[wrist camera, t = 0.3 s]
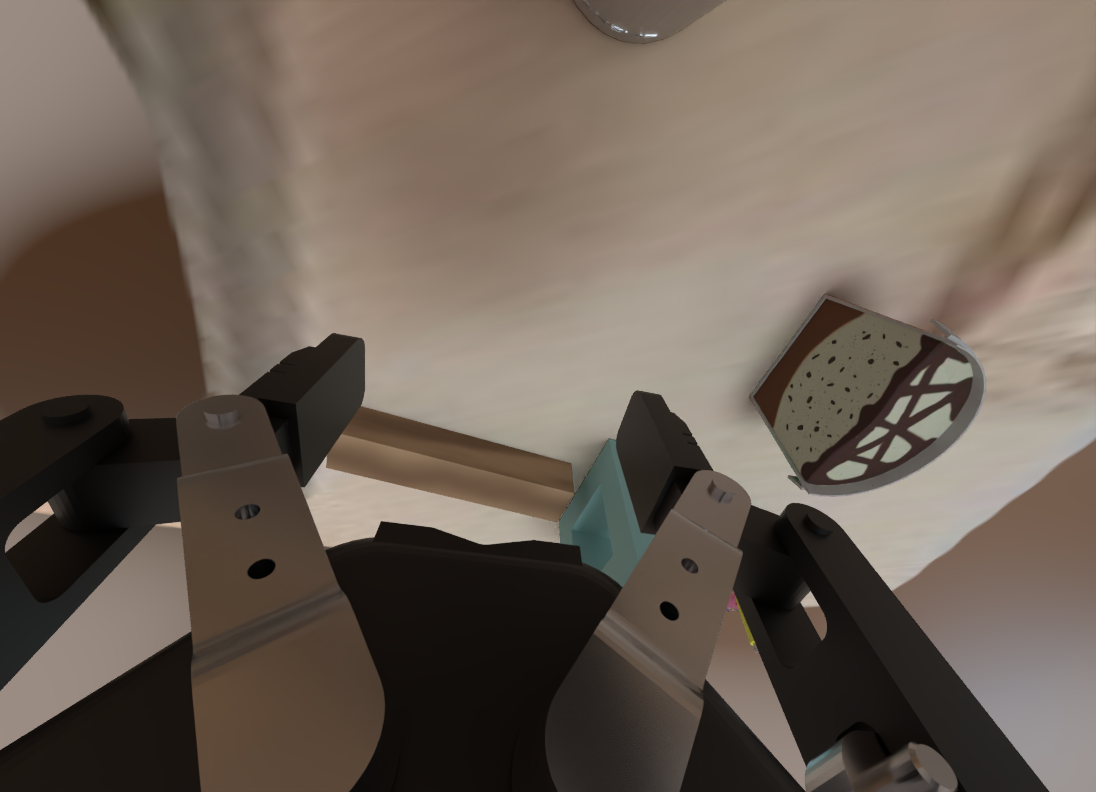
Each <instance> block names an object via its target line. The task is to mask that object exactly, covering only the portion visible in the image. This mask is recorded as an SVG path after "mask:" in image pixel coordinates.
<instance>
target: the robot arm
mask: <svg viewBox="0 0 1096 792" xmlns="http://www.w3.org/2000/svg"><path fill="white" fill-rule="evenodd" d="M574 1H575V3H576V5H577V7H578V8H579V9H580V10H581V12H582V13H583V14H584V15H585V16H586V17H587V19H588V20H589V21H590V22H591V23H592V24H593V25H594V26H596V27H597V28H598V29H600V30H601V31H603V32H604V33H605V34H607V35H608V36H611V37H613V38H616V39H619V40H622V41H624V42H632V43H649V42H653V41H658V40H663V39H665V38H667V37H669V36H671V35H673V34H675V33H677V32H680V31H682V30H683V29H684V28H686V27H687V26H689V25H690V24H692V23H693V22H695V21H696V20H698V19H699V18H700V17H702V16H703V15H705V14H707V13H708V12H710V11H711V10H713V9H714V8H716V7H717V6H719V5H720V4H721V3H723V2H724V1H726V0H574ZM364 392H365V344H364V341H363V339H362V338H357V337H352V336H346V335H341V334H336V333H332V334H331V335H330V336H328V337H327V338H326V339H325V340H324V341H323V342H321V343H320V344H319V345H318V346H317V347H310V346H309V347H306V348H303V349H301V350H298V351H295V352H292V353H291V354H289V355H288V356H287V357H286V358H284V359H283V360H282V361H281V362H280V364H277V365H276V366H274V367H273V368H272V369H271V370H270V372H267V373H266V374H264V375H263V376H262V377H261V378H259V379H258V380H257V381H256V382H254V383H253V384H252V385H251V386H249V387H248V388H247V389H246V390H244V391H243V392H242V393H241V394H239V395H219V396H213V397H208V398H204V399H201V400H198V401H195V402H193V403H191V404H189V405H187V406H186V407H185V408H183V409H182V410H181V411H180V412H179V413H178V415H177V417H176V418H155V419H128V417H127V414H126V411H125V409H124V406H123V404H122V403H121V402H120V401H119V400H117V399H115V398H111V397H108V396H102V395H74V396H65V397H60V398H54V399H50V400H46V401H43V402H39V403H36V404H33V405H31V406H28V407H26V408H24V409H22V410H19V411H18V412H16V413H14V414H12V415H10V416H8V417H6V418H4V419H2V420H1V421H0V691H1V689H3V687H4V686H5V685H6V684H7V683H8V682H9V681H10V680H11V679H12V678H13V677H14V676H15V675H16V674H17V673H18V671H19V670H20V669H21V668H22V667H23V666H24V665H25V664H26V663H27V662H28V661H29V660H30V659H31V657H33V655H34V654H35V653H36V652H37V651H38V650H39V649H40V648H41V647H42V646H43V645H44V644H45V643H46V641H47V640H48V639H49V638H50V637H51V636H52V635H53V634H54V633H55V632H56V631H57V630H58V629H59V628H60V627H61V625H62V624H63V623H64V622H65V621H66V620H67V619H68V618H69V617H70V616H71V615H72V614H73V613H74V612H75V610H76V609H77V608H78V607H79V606H80V605H81V604H82V603H83V602H84V601H85V600H86V599H87V598H88V596H89V595H90V594H91V593H92V592H93V591H94V590H95V589H96V588H97V587H98V586H99V585H100V584H101V583H102V582H103V581H104V579H105V578H106V577H107V576H108V575H109V574H110V573H111V572H112V571H113V570H114V569H115V568H116V567H117V566H118V564H119V563H120V562H121V561H122V560H123V559H124V558H125V557H126V556H127V555H128V553H130V551H132V549H133V548H134V547H135V546H136V545H137V544H138V543H139V542H140V541H141V540H142V539H143V537H145V536H146V535H147V533H148V532H149V531H150V530H151V529H152V528H153V527H154V526H155V525H156V524H163V523H172V522H181V529H182V539H183V549H184V560H185V570H186V580H187V591H188V601H189V611H190V621H191V632H189V633H188V634H186V635H185V636H183V637H181V638H180V639H178V640H177V641H175V642H173V643H172V644H170V645H168V646H167V647H165V648H164V649H162V650H161V651H159V652H157V653H156V654H154V655H153V656H151V657H149V658H148V659H146V660H144V661H143V662H141V663H140V664H138V665H136V666H135V667H133V668H132V669H130V670H128V671H127V672H125V673H124V674H122V675H121V676H119V677H117V678H115V679H114V680H112V681H111V682H109V683H107V684H106V685H104V686H103V687H101V688H99V689H98V690H96V691H95V692H93V693H91V694H90V695H88V696H87V697H85V698H84V699H82V700H80V701H79V702H77V703H75V704H74V705H72V706H70V707H69V708H67V709H66V710H64V711H62V712H61V713H59V714H58V715H56V716H54V717H53V718H51V719H50V720H48V721H46V722H45V723H43V724H42V725H40V726H38V727H37V728H35V729H34V730H32V731H30V732H29V733H27V734H26V735H24V736H22V737H21V738H19V739H17V740H16V741H14V742H13V743H11V744H9V745H8V746H6V747H5V748H3V749H1V750H0V792H1049V791H1048V789H1047V788H1046V787H1045V786H1044V784H1043V783H1042V782H1041V780H1040V779H1039V778H1038V777H1037V775H1036V774H1035V773H1034V772H1033V770H1032V769H1031V768H1030V767H1029V765H1028V764H1027V763H1026V761H1025V760H1024V759H1023V758H1022V756H1021V755H1020V754H1019V752H1018V751H1017V750H1016V749H1015V747H1014V746H1013V745H1012V744H1011V742H1010V741H1009V740H1008V739H1007V737H1006V736H1005V735H1004V733H1003V732H1002V731H1001V730H1000V728H999V727H998V726H997V725H996V724H995V722H994V721H993V719H992V718H991V717H990V716H989V714H988V713H987V712H986V711H985V709H984V708H983V707H982V706H981V704H980V703H979V702H978V700H977V699H976V698H975V697H974V695H973V694H972V693H971V691H970V690H969V689H968V688H967V686H966V685H965V684H964V683H963V681H962V680H961V679H960V677H959V676H958V675H957V674H956V672H955V671H954V670H953V669H952V667H951V666H950V665H949V663H948V662H947V661H946V660H945V658H944V657H943V656H942V655H941V653H940V652H939V651H938V650H937V648H936V647H935V646H934V644H933V643H932V642H931V641H930V639H929V638H928V637H927V636H926V634H925V633H924V632H923V630H922V629H921V628H920V627H919V625H918V624H917V623H916V622H915V620H914V619H913V618H912V616H911V615H910V614H909V613H908V611H907V610H906V609H905V608H904V606H903V605H902V604H901V602H900V601H899V600H898V599H897V597H896V596H895V595H894V594H893V592H892V591H891V590H890V588H889V587H888V586H887V585H886V583H885V582H884V581H883V580H882V578H881V577H880V576H879V574H878V573H877V572H876V571H875V569H874V568H873V567H872V566H871V564H870V563H869V562H868V560H867V559H866V558H865V557H864V555H863V554H862V553H861V552H860V550H859V549H858V548H857V547H856V545H855V544H854V543H853V541H852V540H851V539H850V538H849V536H848V535H847V534H846V533H845V531H844V530H843V529H842V528H841V527H840V526H839V525H838V524H837V523H836V522H835V521H834V520H833V519H831V518H830V517H829V516H827V515H826V514H824V513H822V512H821V511H819V510H817V509H815V508H813V507H810V506H808V505H804V504H800V503H791V504H789V505H787V507H786V508H785V509H784V511H783V512H782V514H781V515H780V516H779V515H776V514H774V513H771V512H768V511H766V510H763V509H760V508H758V507H755V506H753V505H751V499H750V497H749V495H748V493H747V492H746V491H745V490H744V489H743V488H742V486H740V485H739V484H738V483H737V482H735V481H734V480H733V479H731V478H729V477H728V476H726V475H723V474H721V473H718V472H715V471H713V469H712V467H711V466H710V464H709V462H708V461H707V459H706V457H705V455H704V454H703V452H702V450H701V449H700V447H699V446H697V442H696V440H695V438H694V437H692V433H691V432H690V430H689V428H688V427H687V425H686V423H685V422H683V421H682V420H681V419H680V418H679V417H678V416H677V415H676V414H675V413H672V412H670V410H669V408H668V407H667V405H666V403H665V401H664V399H663V398H662V396H661V395H659V394H654V393H648V392H643V391H638V390H637V391H635V392H634V393H633V395H632V397H631V399H630V402H629V404H628V407H627V410H626V412H625V415H624V417H623V420H622V423H621V425H620V428H619V430H618V434H617V439H616V450H617V454H618V457H619V461H620V464H621V468H622V471H623V474H624V478H625V481H626V485H627V488H628V491H629V495H630V498H631V501H632V505H633V508H634V512H635V515H636V518H637V522H638V525H639V529H640V532H641V533H645V534H652V535H655V536H654V538H653V540H652V541H651V543H650V545H649V546H648V548H647V549H646V551H645V553H644V554H643V556H642V557H641V559H640V561H639V562H638V564H637V566H636V567H635V569H634V570H633V572H632V574H631V575H630V577H629V579H628V580H627V582H626V583H625V585H624V587H622V586H621V585H620V584H619V583H618V582H616V581H615V580H614V579H612V578H611V577H610V576H608V575H607V574H605V573H603V572H602V571H600V570H598V569H597V568H594V567H592V566H590V565H588V564H586V563H583V562H582V558H581V550H580V546H577V545H569V544H561V543H553V542H544V541H536V540H530V541H520V542H510V543H501V544H491V545H482V544H478V543H475V542H472V541H469V540H466V539H464V538H461V537H458V536H455V535H452V534H449V533H447V532H444V531H441V530H438V529H435V528H432V527H424V526H416V525H408V524H399V523H391V522H383V521H381V523H380V525H379V528H378V530H377V533H376V535H375V537H373V538H365V539H360V540H354V541H350V542H347V543H343V544H340V545H337V546H335V547H332V548H329V549H327V550H325V549H324V546H323V544H322V541H321V538H320V536H319V533H318V531H317V528H316V525H315V523H314V520H313V518H312V515H311V512H310V510H309V507H308V504H307V502H306V499H305V497H304V494H303V491H302V489H301V487H305V486H306V485H307V483H308V482H309V480H310V479H311V477H312V476H313V474H314V473H315V472H316V470H317V469H318V467H319V466H320V464H321V463H322V461H323V460H324V459H325V457H326V456H327V454H328V453H329V451H330V450H331V448H332V447H333V446H334V444H335V443H336V441H337V440H338V438H339V437H340V435H341V434H342V433H343V431H344V430H345V428H346V427H347V425H348V424H349V422H350V421H351V420H352V418H353V417H354V415H355V414H356V412H357V411H358V409H359V408H360V406H361V404H362V401H363V397H364ZM47 501H48V503H49V505H50V506H51V508H52V510H53V512H54V514H53V515H52V516H50V517H49V518H48V519H47V520H46V521H44V522H43V523H42V524H41V525H39V526H38V527H37V528H36V529H34V530H33V531H32V532H31V533H29V534H28V535H27V536H26V537H24V538H23V539H22V540H21V541H19V542H18V543H17V544H16V545H15V546H13V547H12V548H11V549H9V550H8V551H7V552H6V553H5V544H6V541H7V539H8V536H9V535H10V533H11V532H12V530H13V529H14V528H15V527H16V526H17V524H19V523H20V522H21V521H22V520H23V519H25V518H26V517H27V516H29V515H30V514H31V513H33V512H34V511H35V510H37V509H38V508H39V507H40V506H42V505H43V504H44V503H46V502H47ZM732 590H734V593H735V596H736V598H737V600H738V603H739V605H740V608H741V610H742V613H743V615H744V617H745V620H746V622H747V625H748V627H749V630H750V632H751V634H752V637H753V639H754V642H755V644H756V646H757V649H758V651H759V654H760V656H761V658H762V661H763V663H764V666H765V668H766V670H767V673H768V675H769V678H770V680H771V683H772V685H773V688H774V690H775V692H776V695H777V697H778V700H779V702H780V704H781V707H782V709H783V712H784V714H785V716H786V719H787V721H788V724H789V726H790V729H791V731H792V733H793V736H794V738H795V741H796V743H797V746H798V748H799V750H800V753H801V755H802V758H803V760H804V762H805V765H806V767H807V768H806V771H805V788H806V791H805V790H804V789H803V788H802V787H801V786H800V785H799V784H798V783H797V781H796V780H795V779H794V778H793V777H792V776H791V775H790V773H789V772H788V771H787V770H786V769H785V768H784V767H783V766H782V764H780V762H779V761H778V760H777V759H776V758H775V757H774V756H773V754H772V753H771V752H770V751H769V750H768V749H767V748H766V747H765V745H763V743H762V742H761V741H760V740H759V739H758V738H757V736H756V735H755V734H754V733H753V732H752V731H751V730H750V729H749V727H748V726H747V725H746V724H745V723H744V722H743V721H742V720H741V719H740V717H739V716H738V715H737V714H736V713H735V712H734V711H733V709H732V708H731V707H730V706H729V705H728V704H727V703H726V702H725V701H724V699H723V698H722V697H721V696H720V695H719V694H718V693H717V691H716V690H715V689H714V688H713V687H712V686H711V685H710V684H709V682H708V681H706V675H707V672H708V669H709V665H710V662H711V658H712V655H713V652H714V649H715V645H716V642H717V639H718V635H719V632H720V629H721V625H722V622H723V619H724V615H725V612H726V609H727V605H728V602H729V599H730V595H731V592H732ZM810 591H811V592H812V594H813V596H814V597H815V599H816V601H817V602H818V604H819V606H820V607H821V609H822V611H823V613H824V615H825V617H826V621H827V633H826V636H825V638H824V639H823V641H822V640H821V639H820V637H819V635H818V633H817V632H816V630H815V628H814V626H813V624H812V622H811V621H810V619H809V617H808V615H807V613H806V612H805V610H804V608H803V606H802V604H801V603H800V602H801V601H802V599H803V598H804V597H805V596H806V595H807V594H808V593H809V592H810Z"/></svg>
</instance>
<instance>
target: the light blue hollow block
mask: <svg viewBox="0 0 1096 792" xmlns="http://www.w3.org/2000/svg"><path fill="white" fill-rule="evenodd" d="M559 530H560V543H561V544H569V545H577V546H580V550H581V558H582V562H583V563H586V564H588V565H590V566H592V567H594V568H597V569H598V570H600V571H602V572H603V573H605V574H607V575H608V576H610V577H611V578H612V579H614V580H615V581H616V582H618V583H619V584H620V585H621V586H622V587H624V585H625V583H626V582H627V580H628V579H629V577H630V575H631V574H632V572H633V570H634V569H635V567H636V566H637V564H638V562H639V561H640V559H641V557H642V556H643V554H644V553H645V551H646V549H647V548H648V546H649V545H650V543H651V541H652V540H653V538H654V536H655V535H652V534H645V533H641V532H640V529H639V525H638V522H637V518H636V515H635V512H634V508H633V505H632V501H631V498H630V495H629V491H628V488H627V485H626V481H625V478H624V474H623V471H622V468H621V464H620V461H619V457H618V454H617V450H616V441H615V440H612V439H609V440H608V441H607V443H606V445H605V446H604V448H603V450H602V451H601V453H600V455H599V456H598V458H597V460H596V461H595V463H594V465H593V466H592V468H591V470H590V471H589V473H588V474H587V476H586V478H585V479H584V481H583V483H582V484H581V486H580V488H579V489H578V491H577V493H576V494H575V496H574V498H573V499H572V501H571V503H570V504H569V506H568V508H567V509H566V511H565V512H564V514H563V516H562V517H561V519H560V521H559Z"/></svg>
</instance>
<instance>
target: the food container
mask: <svg viewBox="0 0 1096 792" xmlns="http://www.w3.org/2000/svg"><path fill="white" fill-rule="evenodd" d="M930 322H931V323H933V324H934V325H935V326H936V327H937V328H938V329H939V330H940V331H941V332H943V333H944V334H945V335H946V336H945V337H941V336H938V335H936V334H933V333H930V332H927V331H925V330H922V329H919V328H917V327H914V326H911V325H908V324H906V323H903V322H900V321H897V320H895V319H892V318H889V317H886V316H884V315H881V314H878V313H876V312H873V311H870V310H867V309H865V308H862V307H859V306H856V305H854V304H851V303H848V302H845V301H843V300H840V299H837V298H834V297H832V296H829V295H826V294H824V296H823V297H822V298H821V300H820V301H819V302H818V304H817V305H816V306H815V308H814V309H813V310H812V312H811V313H810V315H809V316H808V317H807V319H806V320H805V321H804V323H803V324H802V325H801V327H800V328H799V329H798V331H797V332H796V334H795V335H794V336H793V338H792V339H791V340H790V342H789V343H788V344H787V346H786V347H785V349H784V350H783V351H782V353H781V354H780V355H779V357H778V358H777V359H776V361H775V362H774V363H773V365H772V366H771V368H770V369H769V370H768V372H767V373H766V374H765V376H764V377H763V378H762V380H761V381H760V382H759V384H758V385H757V387H756V388H755V389H754V391H753V392H752V393H751V395H750V396H749V397H750V399H751V400H752V402H753V404H754V405H755V407H756V409H757V410H758V412H759V414H760V415H761V417H762V419H763V420H764V422H765V424H766V425H767V427H768V429H769V430H770V432H771V434H772V435H773V437H774V439H775V440H776V442H777V444H778V445H779V447H780V449H781V450H782V452H783V454H784V455H785V457H786V459H787V460H788V462H789V464H790V465H791V467H792V469H793V470H794V472H795V474H796V475H797V477H796V476H790V475H788V478H789V479H790V480H791V481H792V482H793V483H794V484H796V485H797V486H798V487H799V488H800V489H802V490H806V491H807V492H808V494H811V495H817V496H830V497H836V496H849V495H855V494H861V493H865V492H869V491H873V490H876V489H879V488H882V487H885V486H888V485H891V484H893V483H895V482H898V481H900V480H902V479H904V478H906V477H908V476H910V475H912V474H914V473H916V472H918V471H919V470H921V469H923V468H924V467H926V466H927V465H929V464H930V463H932V462H933V461H935V460H936V459H937V458H939V457H940V456H941V455H942V454H944V453H945V452H946V451H947V450H949V449H950V448H951V447H952V446H953V445H954V444H955V443H956V442H957V441H958V440H959V439H960V438H961V437H962V435H963V434H964V433H965V432H966V431H967V430H968V428H969V427H970V425H971V424H972V422H973V421H974V419H975V418H976V416H977V414H978V412H979V410H980V408H981V406H982V404H983V400H984V396H985V392H986V377H985V372H984V368H983V367H982V365H981V363H980V362H979V360H978V358H977V357H976V355H975V354H974V352H973V350H972V349H971V348H970V347H969V346H968V345H967V344H966V343H965V342H964V341H962V340H961V339H960V338H959V337H958V336H957V335H955V334H954V333H953V332H952V331H951V330H950V329H948V328H947V327H946V326H945V325H943V324H942V323H940V322H938V321H936V320H934V319H932V320H931V321H930Z"/></svg>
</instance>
